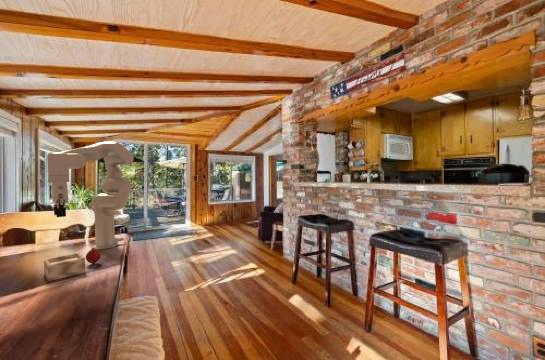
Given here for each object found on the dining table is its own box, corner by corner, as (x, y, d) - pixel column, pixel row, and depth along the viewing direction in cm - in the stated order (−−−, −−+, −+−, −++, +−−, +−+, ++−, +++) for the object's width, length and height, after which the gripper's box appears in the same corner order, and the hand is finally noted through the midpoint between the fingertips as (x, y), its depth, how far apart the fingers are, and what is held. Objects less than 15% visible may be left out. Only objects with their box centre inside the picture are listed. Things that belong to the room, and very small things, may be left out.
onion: (83, 265, 116) (82, 248, 115) (96, 261, 121) (96, 245, 120) (89, 267, 113) (89, 249, 113) (103, 263, 118) (103, 246, 118)
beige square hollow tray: (79, 266, 115) (78, 252, 115) (85, 272, 107) (84, 257, 107) (44, 274, 106) (43, 259, 106) (48, 281, 98) (47, 265, 98)
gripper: (72, 178, 111) (73, 216, 111) (66, 179, 123) (67, 213, 123) (49, 179, 106) (51, 218, 106) (46, 179, 118) (47, 215, 118)
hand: (59, 215), depth 115 cm, fingers open, 9 cm apart
